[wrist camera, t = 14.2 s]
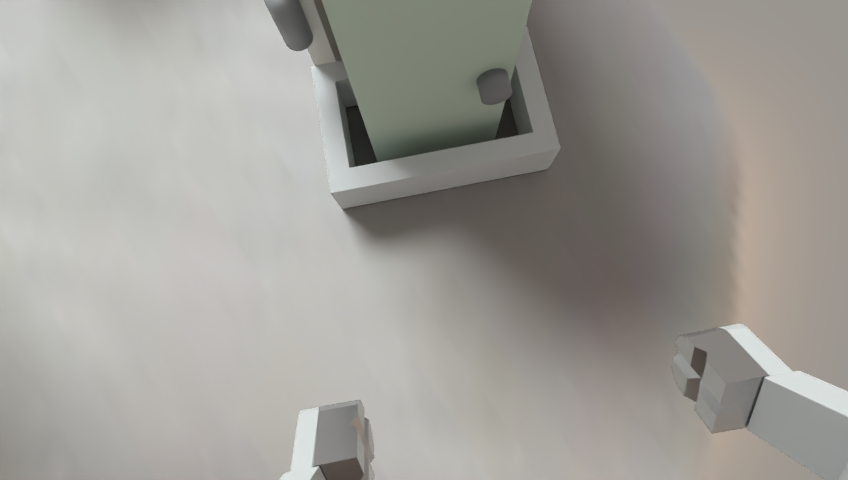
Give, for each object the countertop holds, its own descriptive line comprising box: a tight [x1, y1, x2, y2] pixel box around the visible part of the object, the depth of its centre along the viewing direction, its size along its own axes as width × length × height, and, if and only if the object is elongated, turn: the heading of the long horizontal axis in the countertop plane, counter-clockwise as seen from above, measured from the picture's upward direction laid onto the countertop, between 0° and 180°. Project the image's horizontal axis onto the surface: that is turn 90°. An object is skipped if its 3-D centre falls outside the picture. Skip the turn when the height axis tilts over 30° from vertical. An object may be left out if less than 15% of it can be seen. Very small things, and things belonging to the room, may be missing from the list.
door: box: [322, 0, 532, 162], centre depth 17 cm, size 6×3×13 cm, turn 101°
